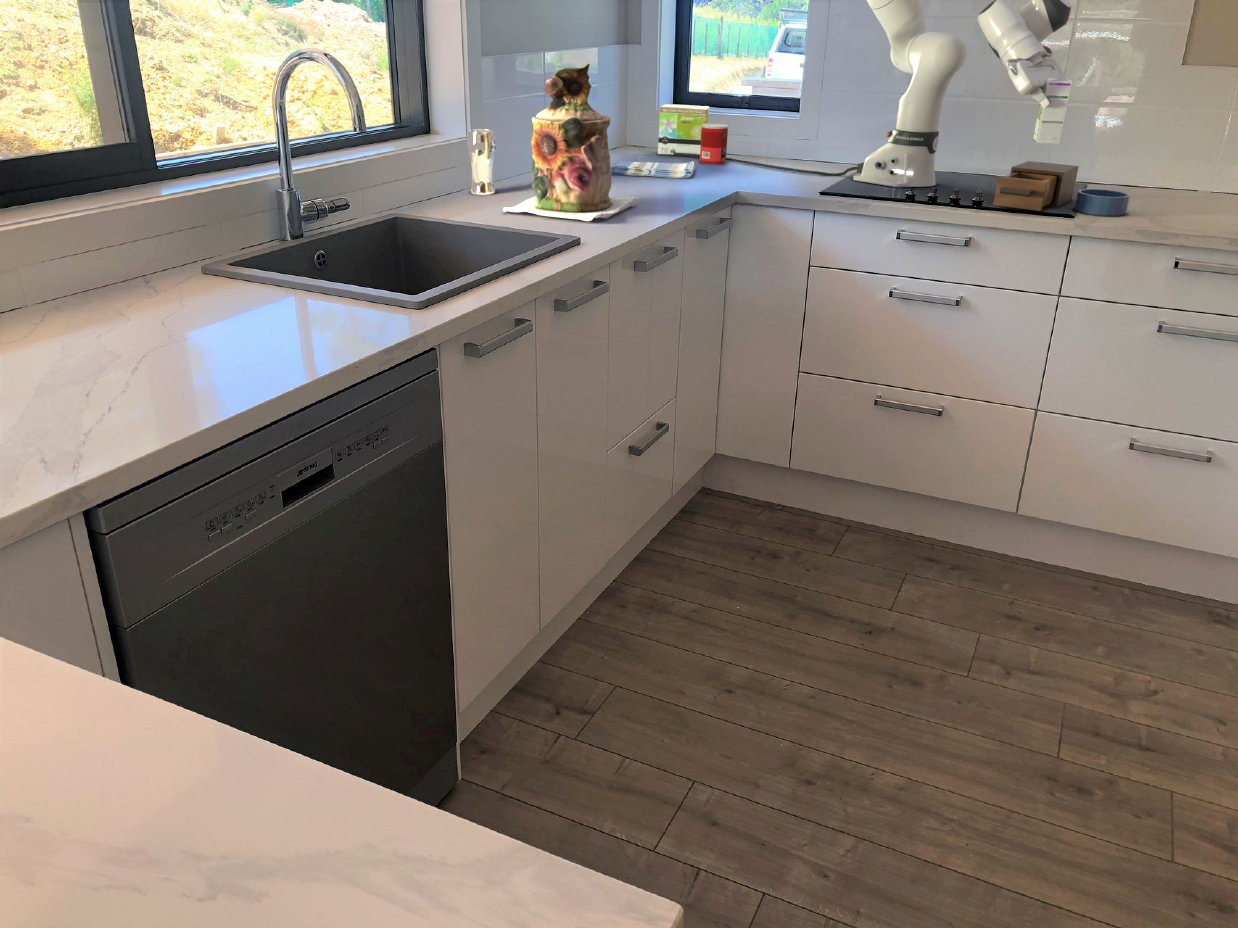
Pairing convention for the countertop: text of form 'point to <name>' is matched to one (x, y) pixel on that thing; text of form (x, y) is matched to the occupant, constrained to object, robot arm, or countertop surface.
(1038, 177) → the drawer
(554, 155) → the cookie jar
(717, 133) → the canned food
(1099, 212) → the bowl
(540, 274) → the countertop surface
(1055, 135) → the syrup box
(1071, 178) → the cabinet
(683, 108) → the tea box
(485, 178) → the beer glass
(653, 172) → the dish towel
